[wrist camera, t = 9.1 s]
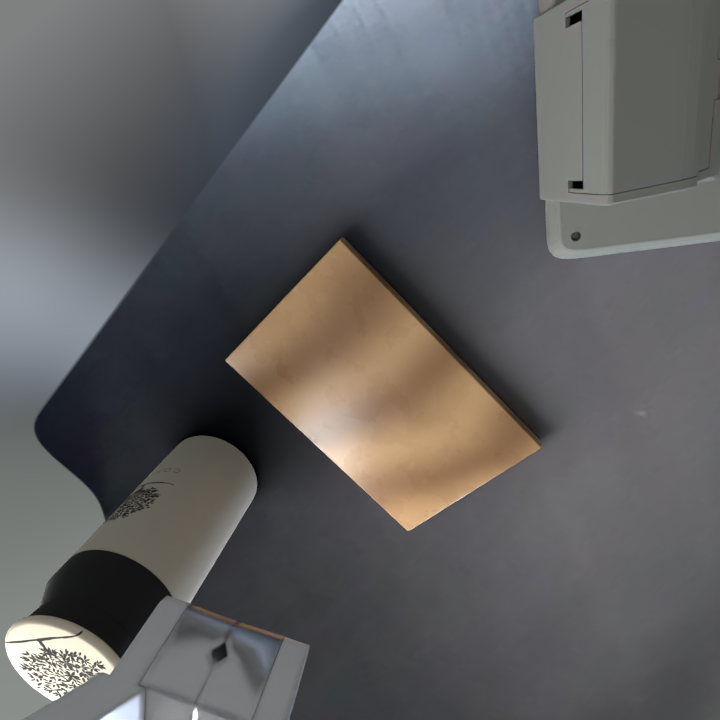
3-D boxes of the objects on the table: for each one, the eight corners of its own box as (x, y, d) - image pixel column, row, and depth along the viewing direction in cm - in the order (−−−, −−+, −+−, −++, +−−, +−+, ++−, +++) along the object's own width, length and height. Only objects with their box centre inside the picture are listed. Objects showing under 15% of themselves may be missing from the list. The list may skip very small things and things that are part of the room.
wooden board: (230, 355, 38) (224, 360, 37) (343, 236, 33) (339, 239, 32) (409, 523, 41) (408, 531, 40) (540, 440, 36) (542, 447, 35)
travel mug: (269, 507, 44) (151, 723, 28) (191, 510, 46) (39, 713, 30) (242, 429, 41) (93, 620, 25) (160, 436, 43) (-26, 616, 27)
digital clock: (540, 273, 30) (703, 238, 31) (638, 271, 21) (862, 223, 22) (500, -23, 27) (681, -53, 28) (595, -167, 18) (855, -205, 19)
